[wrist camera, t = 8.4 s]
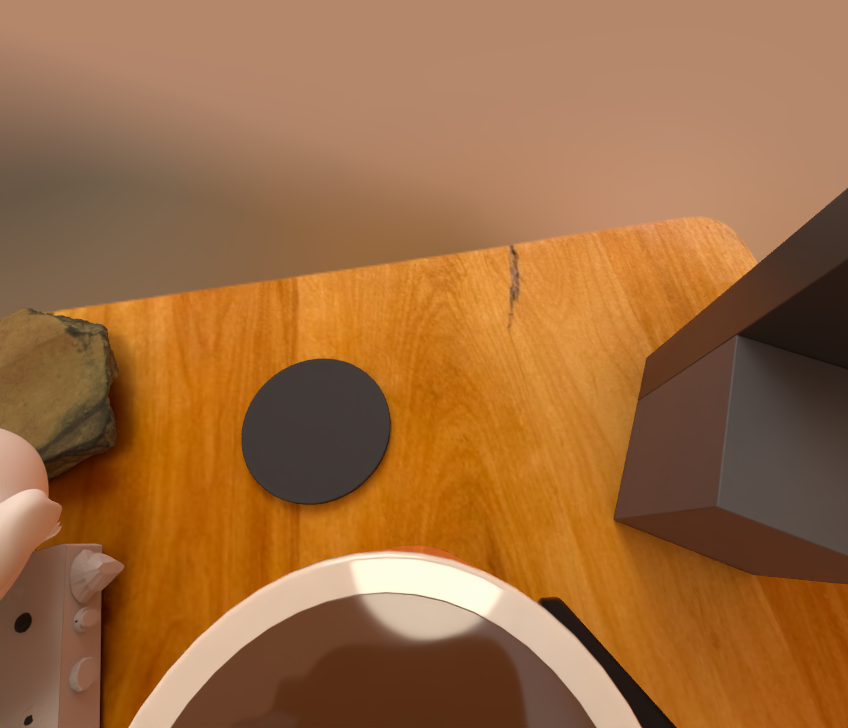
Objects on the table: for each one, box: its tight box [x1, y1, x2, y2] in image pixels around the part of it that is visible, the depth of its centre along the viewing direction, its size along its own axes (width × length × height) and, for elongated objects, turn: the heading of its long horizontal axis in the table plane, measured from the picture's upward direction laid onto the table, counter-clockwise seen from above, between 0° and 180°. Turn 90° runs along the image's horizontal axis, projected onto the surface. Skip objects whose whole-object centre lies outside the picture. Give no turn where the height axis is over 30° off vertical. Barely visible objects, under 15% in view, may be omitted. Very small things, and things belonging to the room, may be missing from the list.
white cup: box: [128, 545, 642, 728], centre depth 8 cm, size 6×6×10 cm
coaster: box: [242, 359, 391, 504], centre depth 24 cm, size 8×8×1 cm
